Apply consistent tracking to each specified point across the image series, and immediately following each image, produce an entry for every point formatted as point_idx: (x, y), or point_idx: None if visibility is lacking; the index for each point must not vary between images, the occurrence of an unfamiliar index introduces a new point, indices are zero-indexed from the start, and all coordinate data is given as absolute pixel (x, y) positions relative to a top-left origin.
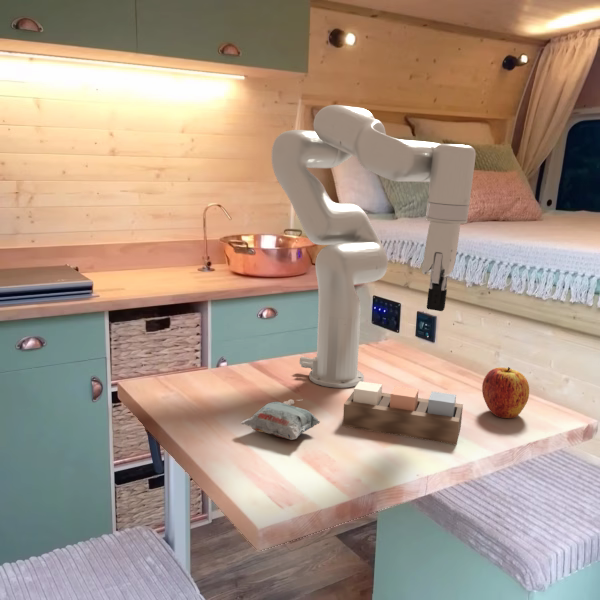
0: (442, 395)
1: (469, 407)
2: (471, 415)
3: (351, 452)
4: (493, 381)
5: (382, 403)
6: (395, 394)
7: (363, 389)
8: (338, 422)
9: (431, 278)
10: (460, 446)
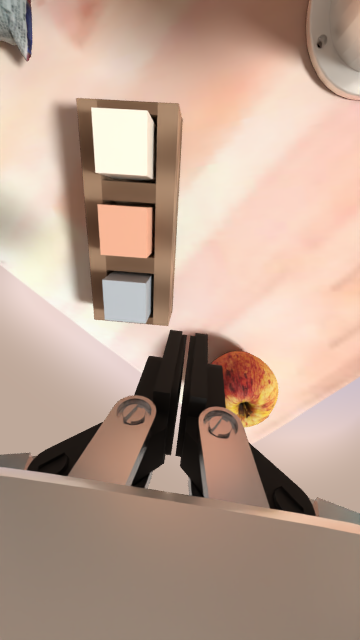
0: (132, 302)
1: (251, 324)
2: (219, 326)
3: (10, 157)
4: None
5: (115, 187)
6: (99, 215)
7: (96, 134)
8: None
9: (77, 469)
10: None
